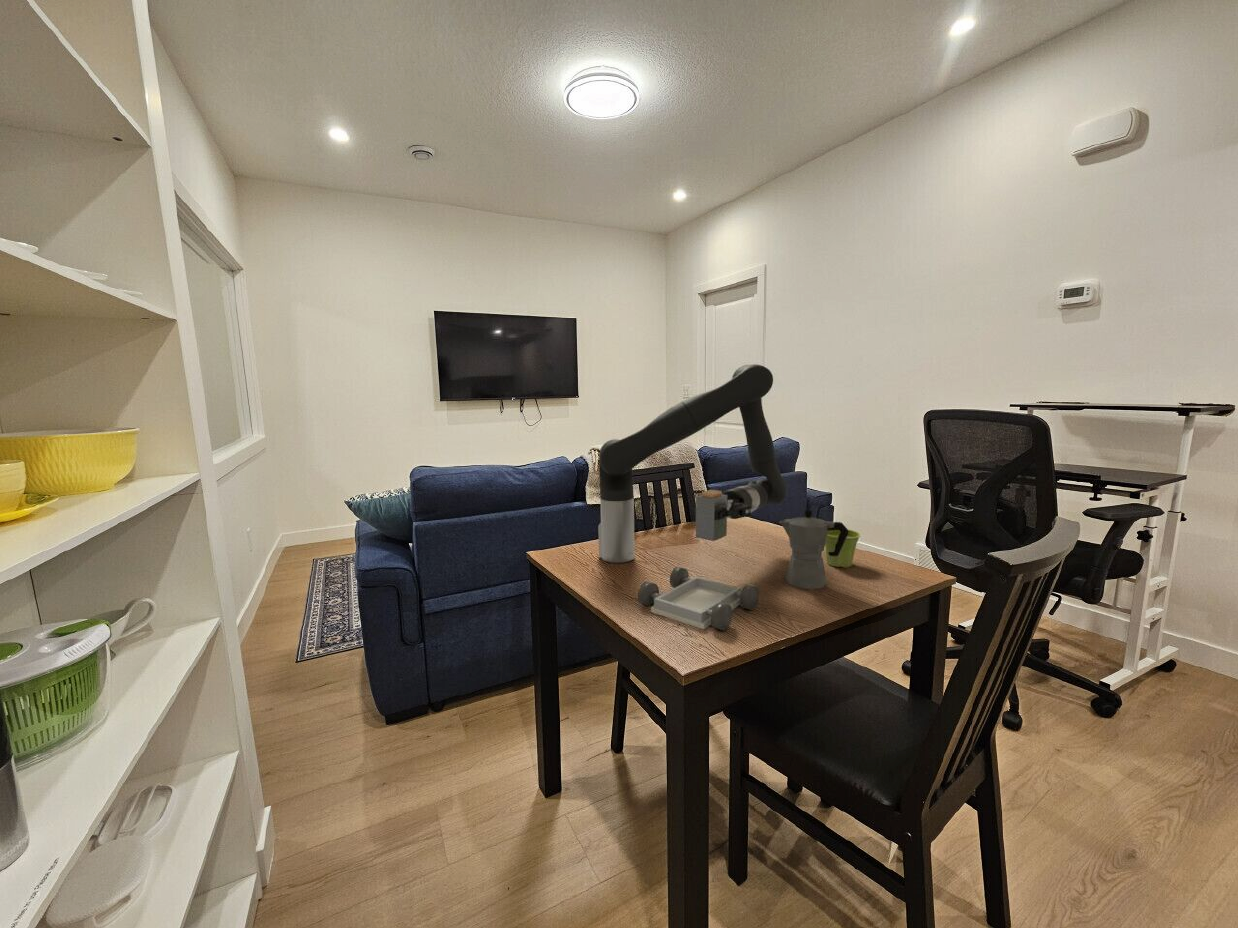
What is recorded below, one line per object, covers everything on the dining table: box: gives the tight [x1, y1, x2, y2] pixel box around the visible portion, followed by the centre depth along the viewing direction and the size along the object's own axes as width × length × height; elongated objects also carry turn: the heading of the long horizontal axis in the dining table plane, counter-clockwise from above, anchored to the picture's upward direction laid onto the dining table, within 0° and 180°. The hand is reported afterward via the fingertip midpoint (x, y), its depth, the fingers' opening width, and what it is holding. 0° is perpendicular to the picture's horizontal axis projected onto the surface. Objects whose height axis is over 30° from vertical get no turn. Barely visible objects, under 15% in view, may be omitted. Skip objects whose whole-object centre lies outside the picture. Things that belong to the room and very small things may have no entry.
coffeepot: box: [778, 509, 848, 590], centre depth 122 cm, size 15×9×18 cm, turn 65°
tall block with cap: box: [695, 489, 728, 542], centre depth 123 cm, size 5×6×11 cm
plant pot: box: [824, 528, 861, 569], centre depth 136 cm, size 9×9×9 cm
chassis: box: [637, 566, 760, 632], centre depth 111 cm, size 20×17×5 cm
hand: (705, 514), depth 121 cm, fingers closed on tall block with cap, 5 cm apart
